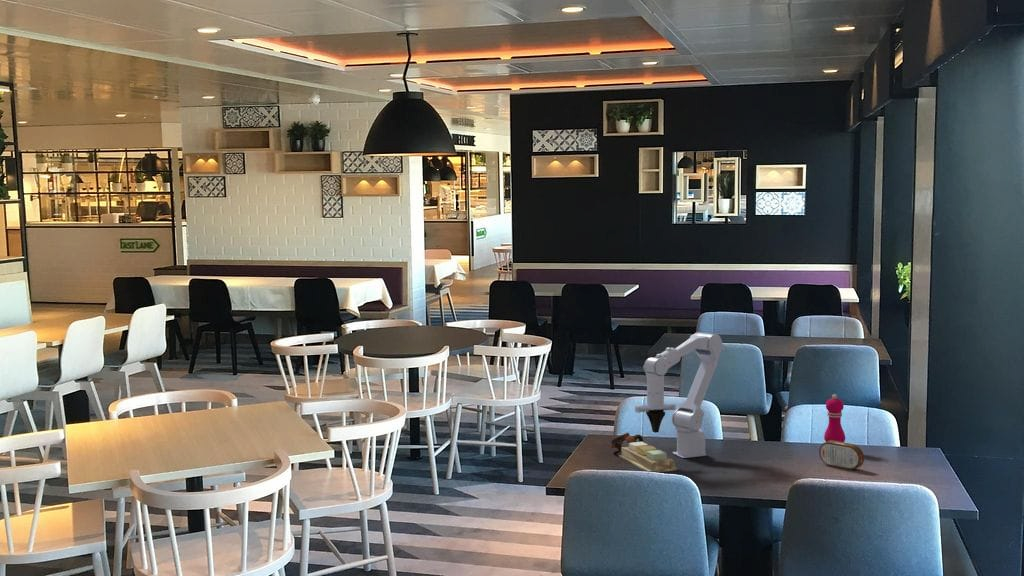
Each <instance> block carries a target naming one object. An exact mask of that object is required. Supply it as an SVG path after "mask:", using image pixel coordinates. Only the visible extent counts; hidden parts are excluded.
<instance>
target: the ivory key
mask: <svg viewBox="0 0 1024 576" xmlns="http://www.w3.org/2000/svg"><path fill="white" fill-rule="evenodd" d="M641 446H649V444H648V443H647V442H644V441H643V442H639V441H637V442H634V443H628V447H629V449H630V450H632V451H634V452H638V449H637V447H641Z"/></svg>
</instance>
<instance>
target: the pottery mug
mask: <svg viewBox="0 0 1024 576" xmlns="http://www.w3.org/2000/svg"><path fill="white" fill-rule="evenodd" d="M637 439H638V441H637ZM624 442H626V443H627V444H629V443H634V442H644V437H643V435H641V434H635V435H633V436H632V435H630V432H625V433H623V434H621V435H619V436H617V437H616V438H613V439H611V440H610V443H611V449H614V448H615V449H617V450H618V451H621V447H623V446H622V445H624Z"/></svg>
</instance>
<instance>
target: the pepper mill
mask: <svg viewBox="0 0 1024 576" xmlns="http://www.w3.org/2000/svg"><path fill="white" fill-rule="evenodd" d="M825 408H826V410H827V414H826V415H827V417H828V424H827V426H826V429H825V431H824V434H823V439H824V441H825V442H827V441H829V440H833V441H839V442H844V443H845V441H846V435H845V431H844V429H843V427H842V424H841V423H842V421H841V420H842V418H841V417H843V415H842V414H843V412H842V411H843V410H844V402H843V401H842V400H841V399H839V398H838V394H836V393H834V394H832V396H831V398H829V399H828V400H827V401H826V403H825Z"/></svg>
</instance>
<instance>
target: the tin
mask: <svg viewBox="0 0 1024 576" xmlns="http://www.w3.org/2000/svg"><path fill="white" fill-rule="evenodd" d="M818 451H819V457H820V460H821V461H822V462H823V463H824V464H825V465H827V466H829V467H834V468H838V469H839V468H840V469H845V470H848V471H849V470H850V471H852V470H855V469H859V468H861V467H862V465H863V464H864V461H865V455H864V452H863V450H862V449H861V448H860V447H859V446H858V445H856V444H855V443H851V442H849V443H848V442H845V441H844V442H839V441H833V440H829V441H827V442H826V441H825V442H823V443H822V444H821V445H820V446H819V449H818Z"/></svg>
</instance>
